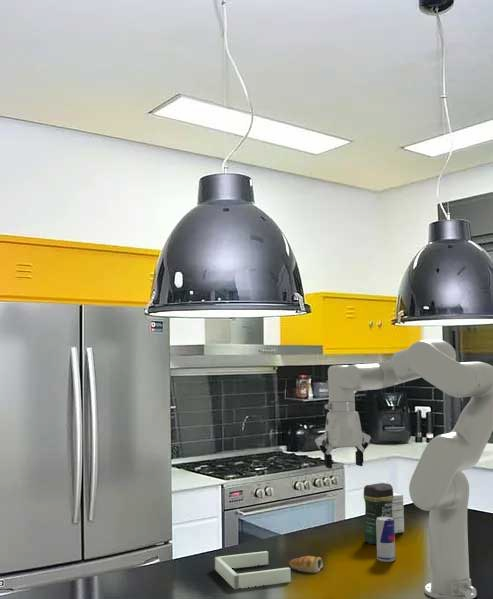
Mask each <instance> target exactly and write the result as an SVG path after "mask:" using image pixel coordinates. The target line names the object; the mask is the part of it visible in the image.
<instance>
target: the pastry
mask: <svg viewBox="0 0 493 599" xmlns="http://www.w3.org/2000/svg"><path fill="white" fill-rule="evenodd" d="M288 563H289V566H290V569H293V570H296V571H298V572H305V573H310V574H311V573H313V574H316V573H319V572H320V571H321V569H322V568H323V566H324V563H323V560H322V558H321V557H320V556H311V555H306V556H305V555H304V556H301V557H300V556H299V558H298V557H297V558H293V559H291V560H290V561H289V562H288Z"/></svg>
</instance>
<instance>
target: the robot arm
mask: <svg viewBox="0 0 493 599" xmlns="http://www.w3.org/2000/svg"><path fill="white" fill-rule="evenodd" d="M456 359H457V353H456V350H455V348H454V347H453V345H451V343H449V342H447V341H446V340H440V339H421V340H418V341H415V342H414V343H412V344H411V345H410V346H409V347H408V348H404V349H401V350H398V351H396V352H394V354H393V355H392V357H391V359H387V360H384V361H380V362H376V363H363V364H362V363H360V364H359V363H358V364H351V365H348V364H345V365H343V364H342V365H341V364H340V365H339V364H338V365H330V366H329V367H328V369H327V376H328V377H327V381H328V382H327V384H328V385H327V386H328V403H325V405H324V409H326V410H328V411H329V412H326V413H327V414H326V419H325V431H324V433H323V434H321V435H320V436H318V437H316V438H315V439H314V442H315V445H316V446H317V448H318V449H319V450H320V451H321V452H322V454H323V461H324V463H323V464H324V465H325V468H326V469H332V468H333V457H332V454H331V452H332V451H333V449H334V448H335V449H338V448H354V449H356V451H355V465H356V466H359V467H363V466H364V465H363V463H364V453H365V450H366V449H367V448H368V446H369V443H370V441H371V439H372V437H371V435H369V434H368V433H365V432H364V431H362V425H361V420H360V414H359V412H358V411H356V403H355V402H356V400H355V399H356V398H355V392H361V391H373V390H382V389H385V388H389V387H392V386H397V385H400V384H404V383H406V382H410V381H414V380H417V379H420V378H422V379H424V381H426V382H428V383H429V384H431V385H433V386H434V387H436V389H438V390H440V391H442V392H443V393H444V394H446V395H448V396H451V397H454V398H459V399H460V398H470V397H471V398H470V399H469V402H467V404H466V405H465V406H464V408H463V410H462V411H461V413H460V414H459V416H458V420H457V421H456V423H455V425H454V427H453V428H452V430H451V431H449V432H447V433H442V434H438V435H436V436H435V437H433V438H432V439H430V441H429V442H428V443H427V444H426V446H425V448H424V450H423V452H422V453H421V456H420V458H419V460H418V462H417V465H416V466H415V469H414V471H413V473H412V476H411V478H410V482H409V485H408V489H409V490H408V492H409V497H410V499H411V501H412V503H413V505H414V506H416V507H417V508H419V509H421V510H422V511H426V512H427V511H429V515H428V543H429V546H428V547H429V565H430V566H429V567H430V568H429V569H430V570H429V571H430V583H427V584H426V585H425V586H424V592H425V594H426V595H427V596H429V597H430V598H433V599H474V598H476V597H477V589H476V588H475V587H474V586H472V579H471V578H470V563H469V562H470V561H469V541H468V540H469V539H468V507H469V497H470V484H469V480H468V478H467V476H466V474H464V472H463V471H465V470H469V469H471V468H474V467H475V466H476V465H477V464H478V463H479V461H480V459H481V457H482V454H483V453H484V450H485V448H486V447H487V444H488V441H489V440H490V438H491V436H492V433H493V365H491V364H489V363H487V362H482V361H465V362H460V361H457V360H456ZM323 441H325V446H324V445H323Z"/></svg>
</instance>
